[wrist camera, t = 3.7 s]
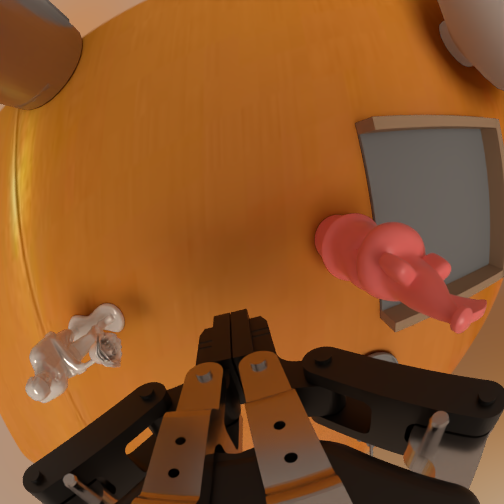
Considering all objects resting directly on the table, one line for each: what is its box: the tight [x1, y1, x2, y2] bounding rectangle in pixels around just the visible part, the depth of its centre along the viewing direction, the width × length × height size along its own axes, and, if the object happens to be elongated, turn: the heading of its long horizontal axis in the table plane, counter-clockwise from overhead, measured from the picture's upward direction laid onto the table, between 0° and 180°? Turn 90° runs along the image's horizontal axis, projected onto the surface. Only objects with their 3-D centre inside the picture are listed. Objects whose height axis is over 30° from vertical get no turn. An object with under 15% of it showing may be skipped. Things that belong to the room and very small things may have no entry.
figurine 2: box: [315, 213, 487, 333], centre depth 15 cm, size 5×5×15 cm
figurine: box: [25, 303, 124, 403], centre depth 16 cm, size 5×9×12 cm, turn 125°
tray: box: [355, 115, 504, 332], centre depth 21 cm, size 18×18×3 cm
